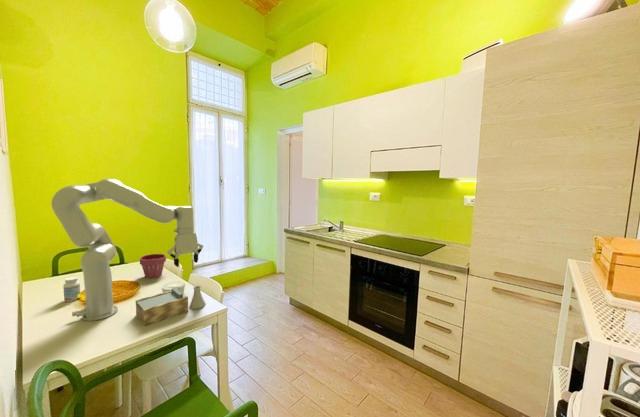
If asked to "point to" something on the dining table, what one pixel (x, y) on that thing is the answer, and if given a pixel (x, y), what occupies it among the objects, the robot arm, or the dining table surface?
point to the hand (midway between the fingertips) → (186, 263)
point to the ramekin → (174, 286)
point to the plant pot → (153, 265)
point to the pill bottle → (71, 289)
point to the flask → (197, 299)
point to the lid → (161, 299)
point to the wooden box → (161, 309)
